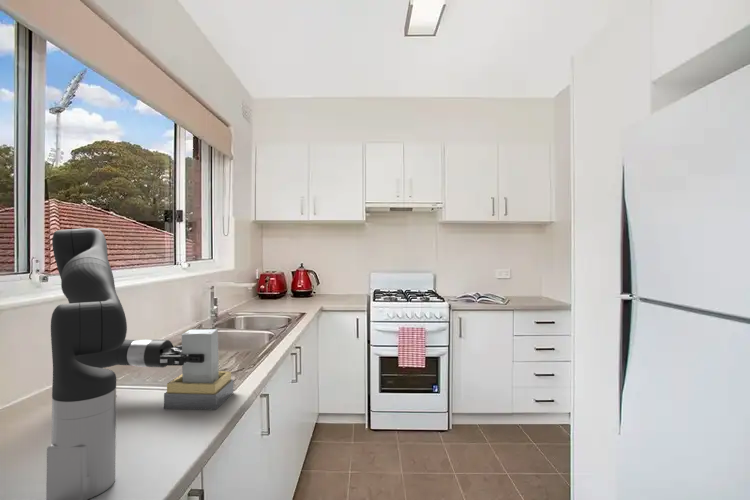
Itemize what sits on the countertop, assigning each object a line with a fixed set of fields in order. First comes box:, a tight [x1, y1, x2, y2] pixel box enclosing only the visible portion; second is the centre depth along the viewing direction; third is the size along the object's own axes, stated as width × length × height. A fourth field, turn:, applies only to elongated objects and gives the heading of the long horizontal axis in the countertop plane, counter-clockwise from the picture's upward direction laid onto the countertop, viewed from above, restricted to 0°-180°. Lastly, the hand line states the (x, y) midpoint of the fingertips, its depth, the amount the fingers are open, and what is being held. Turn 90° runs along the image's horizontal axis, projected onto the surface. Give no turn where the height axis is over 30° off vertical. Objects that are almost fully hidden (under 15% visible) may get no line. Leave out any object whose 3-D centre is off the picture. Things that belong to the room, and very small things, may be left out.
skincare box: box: [181, 328, 220, 383], centre depth 110 cm, size 8×6×15 cm
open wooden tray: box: [163, 370, 234, 411], centre depth 111 cm, size 15×14×6 cm
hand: (209, 355), depth 110 cm, fingers closed on skincare box, 6 cm apart
